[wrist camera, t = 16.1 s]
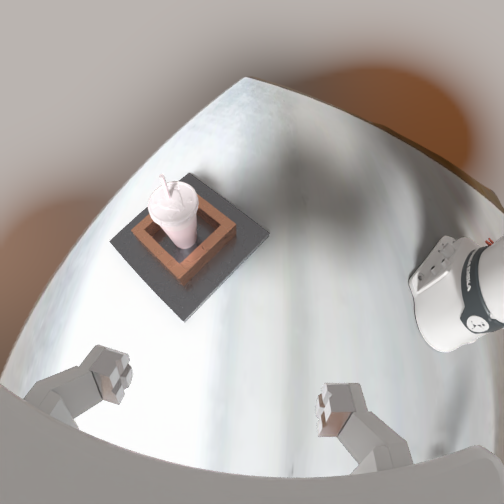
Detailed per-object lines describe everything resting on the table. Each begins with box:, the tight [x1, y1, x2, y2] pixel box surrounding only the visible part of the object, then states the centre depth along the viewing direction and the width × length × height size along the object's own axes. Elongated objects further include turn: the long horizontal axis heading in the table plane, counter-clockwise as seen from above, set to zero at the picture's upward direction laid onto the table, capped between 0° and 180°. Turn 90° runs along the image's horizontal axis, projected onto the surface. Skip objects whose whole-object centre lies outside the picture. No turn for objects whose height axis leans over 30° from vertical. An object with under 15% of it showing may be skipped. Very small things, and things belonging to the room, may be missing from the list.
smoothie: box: [148, 174, 199, 249], centre depth 35 cm, size 6×6×14 cm
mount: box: [110, 173, 269, 322], centre depth 40 cm, size 18×18×4 cm
